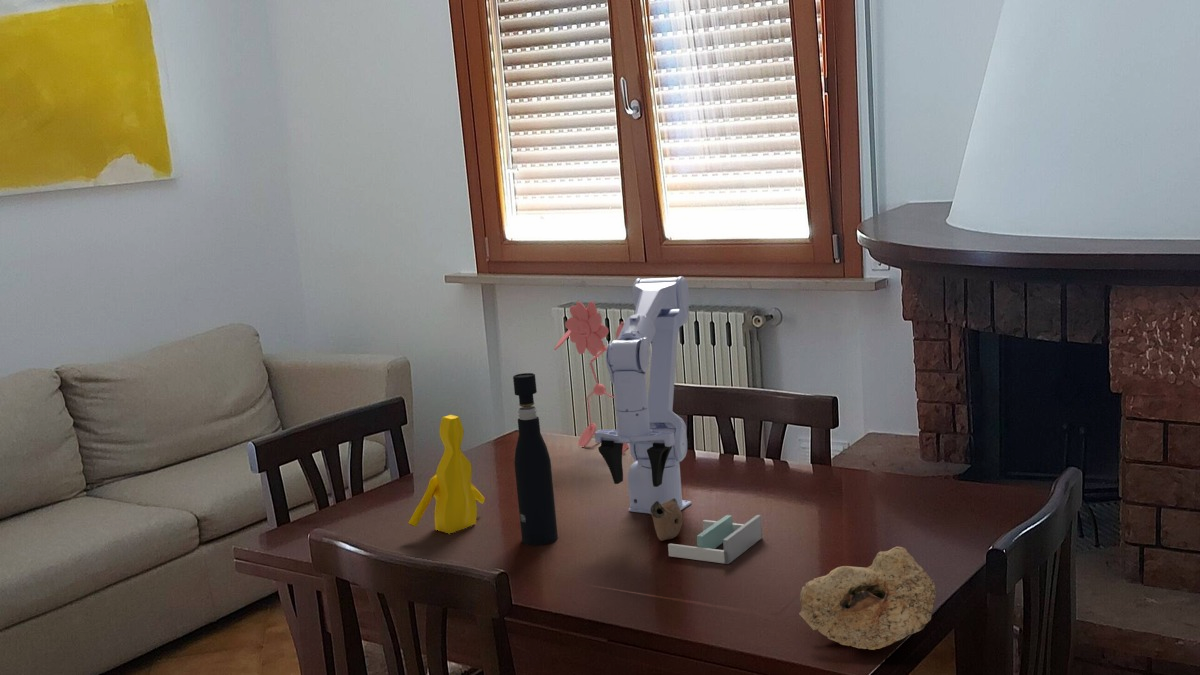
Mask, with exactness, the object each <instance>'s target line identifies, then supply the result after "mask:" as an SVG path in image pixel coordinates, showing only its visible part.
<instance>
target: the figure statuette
mask: <svg viewBox="0 0 1200 675" xmlns="http://www.w3.org/2000/svg"><path fill="white" fill-rule="evenodd" d="M440 419H441V420H440V425H439V432H438V433H439V438H440V439H441V442H442V444H443V446H444V451H443V454H442V456H441V459H440V461H439V463H438V465H437V468H436V471H435V472H436V473H435V474H434V475H433V476H432V477H431V478H430V479H429V483H428V485H427V487H426V491H425V492H424V495H423V497H422V499H420V501H419V504H418V505H417V506H416V508H415V510H414V512H413V514H412V516H411V517H410V519H409V521H408V523H407V524H408V525H410V526H413V527H415V528H417V526H418V525H419V523H420V521H421V519H422V517H423V515H424V513H425V511H426V510H427V508H428V506H429V505H430V503H431V501H432V500H433V498H434V499H435V506H434V527H435V528H434V530H435V531H437V530H438V532H442V533H445V534H447V533H448V534H447V535H451V534H450V533H452V532H455V531H458V530H461V529H463V530H465V529H464V528H466V529H468V528H467V527H469V526H471V525H473V524H475V525H476V523H477V516H478V507H477V506H478V505H477V502H479V503H480V504H482V505H484V502H485V500H486V498H485V496H484V495H482V493H481V492H480V491H479V490H478V489H477V487H476V486H475V485H474V484H473V483H472V472H473V471H472V470H473V469H472V467H473V466H472V464H471V462H470V460H469V459H468V458H467V457H466V455H465V454H464V453H463V452H462V449H461V447H462V443H463V438H464V432H465V431H464V426H463V423H462V421H461V419H460V416H457V415H454V414H448V415H446V416H445V415H444V416H442V417H441V418H440ZM471 527H472V526H471ZM469 528H470V527H469ZM461 531H462V530H461ZM458 532H459V531H458ZM455 533H456V532H455Z"/></svg>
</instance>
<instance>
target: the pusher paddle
mask: <svg viewBox="0 0 1200 675" xmlns="http://www.w3.org/2000/svg"><path fill="white" fill-rule="evenodd" d="M733 523H734V522H733V515H730V514H726V515H725V516H723V517H722V518H720V519H718V520H717V522H716V523H714V524H713V525H712V526H710V527H709V528H707V529H706V530H704V531H703V530H702V532H700V533H699V534H698V535H696V543H697V544H696V545H697V546H696V547H702V548H710V549H717V547H719V546H720V545H722V544H723V539H725V538H726V537H728V536H729V535H730V534H732V533H733Z"/></svg>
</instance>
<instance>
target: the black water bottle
mask: <svg viewBox="0 0 1200 675" xmlns="http://www.w3.org/2000/svg"><path fill="white" fill-rule="evenodd" d="M512 380H513V381H512V382H513V389H514V390H513V391H514V395H515V396H518V402H519V403H518V405H519V406H520V407H518V411H517V413H518V419H517V425H518V426H517V427H518V428H517V429H518V437H517V441H516V446H515V451H514V472H515V473H514V474H515V485H516V493H517V503H518V512H519V513H518V514H519V524H520V531H521V532H520V534H521V542H522V544H524V545H526V546H530V545H531V547H534V546H535V547H538V546H539V547H540V546H545V545H550V544H553V543H555V542H556V541H557V540H558V539H559V535H558V525H557V515H556V512H557V511H556V505H555V504H556V502H555V493H554V482H553V472H552V462H551V461H552V460H551V458H550V453H549V449H548V446H547V444H546V442H545V440H544V437H543V435H542V433H541V426H540V424H541V423H540V417H539V416H538V413H537V411H538V409H537V406H534V405H535V402H534V401H535V400H534V399H535V398H534V394H537V392H538V391H537V381H536V374H535V373H533V372H532V373H531V372H526V373H517V374H515V375H513V376H512Z"/></svg>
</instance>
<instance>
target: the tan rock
mask: <svg viewBox="0 0 1200 675" xmlns="http://www.w3.org/2000/svg"><path fill="white" fill-rule="evenodd" d="M799 593H800V594H799V596H800V598H799V601H800V605H801V609H800V612H799V613H798V614H799V616H800V617H802V619H803V620H804V621H805V622H806V624H808V626H809V627H810V628H811V629H812V630H813V631H816V630H817V631H818V632H819V633H821V634H822V635H823V636H825V637H827V639H828V640H830V641H834V642H835V643H838V644H840V645H842V646H847V647H850V646H851V647H853V648H857V649H863V650H866V649H868V650H870V651H871V650H873V651H876V650H877V649H878V650H879V649H882V648H885V647H886V648H887V647H888V646H890V645H893V644H894V643H896V642H898V641H901V640H903V639H904V638H906V637H908V636H909V635H912V634H916V633H918V632H920V631H922V630H924V629H925V627H926V626H927V624H928V623H929V622H930V621H931V620H932V613H933V609H934V603H935V598H936V596H937V592H936V584H935V582H934V580H933V579H932V578H931V577H930V575H928V574H927V572H926V570H925V569H924V568H923V567H922V566H921V565H919V564H918V562H917V561H915V558H914V557H913V556H912V555H911V554H910V553H909V552H908V551H907V549H906V548H905V547H902V546H895V547H893V548H891V549H889V550H885V551H879V552H877V553H876V555H875V557H874V559H873V560H872V564H870V565H869V566H867V567H863V566H862V567H861V566H850V565H843V566H842V565H841V566H838V567H835V568H834V569H832V570H830V572H829V573H827V574H826V575H822V576H818V577H816V578H815V577H814V578H813V580H811V579H810V580H808V581H806V582H805V585H804V586H802V588H801V590H800V592H799Z"/></svg>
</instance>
